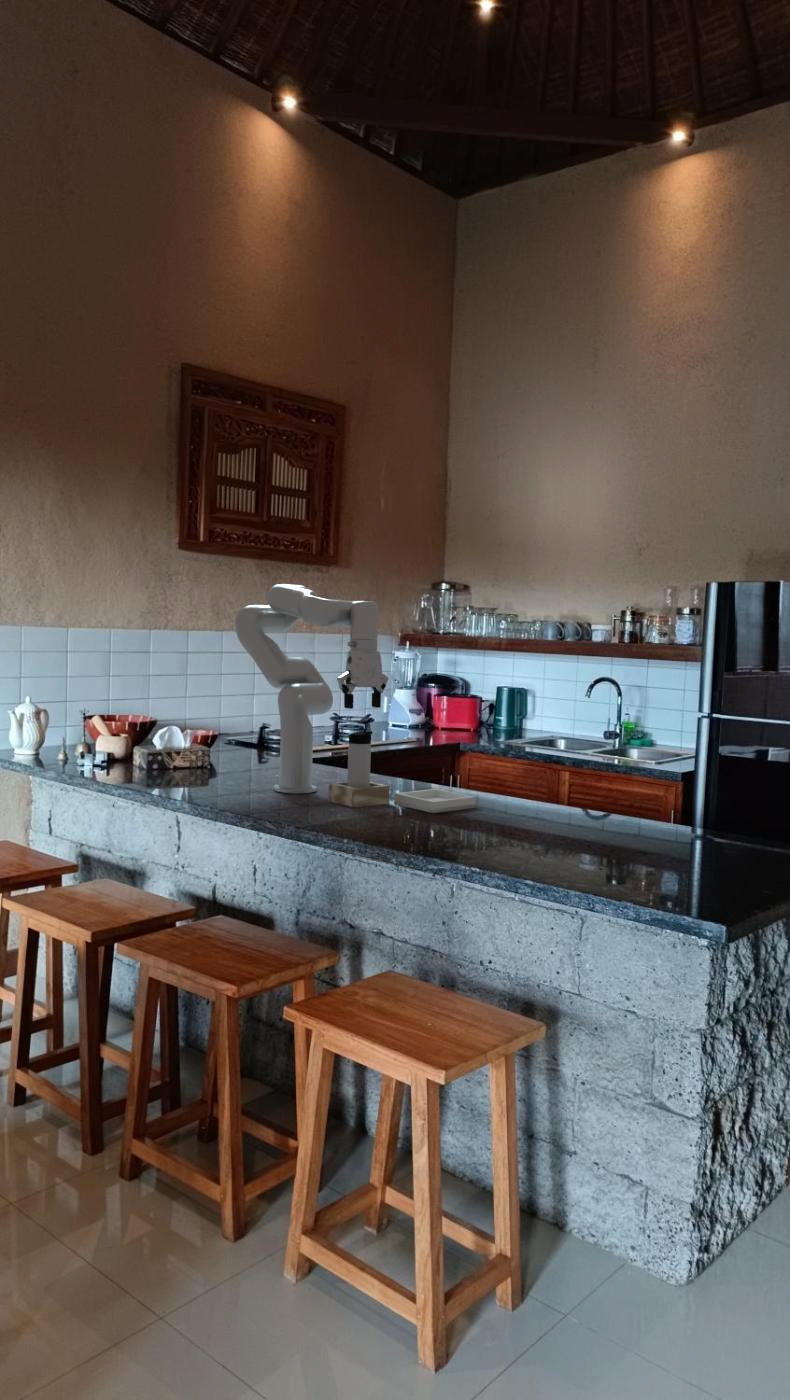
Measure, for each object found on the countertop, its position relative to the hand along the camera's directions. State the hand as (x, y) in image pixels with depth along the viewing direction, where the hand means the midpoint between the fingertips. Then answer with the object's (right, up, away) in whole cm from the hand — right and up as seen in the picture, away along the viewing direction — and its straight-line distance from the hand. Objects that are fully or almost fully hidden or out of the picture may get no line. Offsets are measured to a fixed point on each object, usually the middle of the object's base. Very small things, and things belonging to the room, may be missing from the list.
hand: (362, 707), depth 282 cm
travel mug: (-1, -27, +2) cm, 27 cm away
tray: (+20, -27, +1) cm, 34 cm away
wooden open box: (-1, -26, +2) cm, 27 cm away
